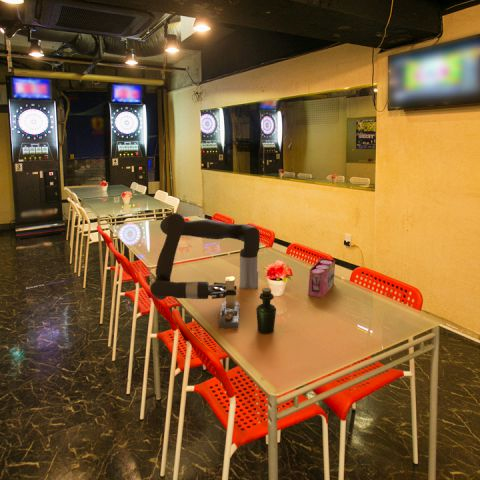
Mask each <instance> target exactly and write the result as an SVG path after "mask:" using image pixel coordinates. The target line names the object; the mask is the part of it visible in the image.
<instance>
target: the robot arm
mask: <svg viewBox="0 0 480 480" xmlns="http://www.w3.org/2000/svg"><path fill="white" fill-rule="evenodd" d="M159 227H160V228H159V229H160V230H161V232H162V233H163V234H164V235H166V237H165V240H164V243H163V245H162V248H161V250H160V253H159V255H158V258H157V263H156V267H155V277H156V278H155V281H153V282H152V283H151V285H150V287H149V291H150V294H152V295H153V297H154V298H155V299H157V300H160V301H161V300H165V299H166V298H167V297H173V298H175V299H189V300H208V299H209V297H211V299H212V300H214V299H215V300H217V299H226V296H227V295H235V296H237V290H238V289H237V285H235V284H234V286H235V290H228V291H227V290H226V282H213V284H210V285H209V282H208V281H184V282H183V281H180V282H177V281H175V282H174V281H171V277H172V273H173V272H172V271H173V268H174V267H173V266H174V263H175V262H174V261H175V257H176V253H177V249H178V246H179V242H180V241H181V237H183V236H184V237H194V238H202V239H208V240H209V239H210V240H223V239H232V240H233V239H234V240H238V241H241V242H242V243H243V248H241V249H240V251H239V288H241V289H242V290H254V289H258V288H259V270H258V253H259V251H260V242H261V240H260V239H261V234H260V230H259V228H258V227H255V226H253V225H251V224H243V223H242V224H240V223H239V224H235V223H228V222H224V221H219V220H214V219H213V220H212V219H200V220H199V219H198V220H188V221H187V220H186V219H185V218H184V216H183V215H182V214H181V213H178V212H173V213H169V215H167V216H166V217H164V218H163V219H162V220H161V222H160V226H159Z"/></svg>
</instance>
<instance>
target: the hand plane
mask: <svg viewBox="0 0 480 480" xmlns="http://www.w3.org/2000/svg"><path fill="white" fill-rule="evenodd" d="M239 320H240V301H235V306H234V309H226V301H222V302H221V308H220V314H219V321H218V329H219V328H238V329H239V324H240V323H239V322H240V321H239Z"/></svg>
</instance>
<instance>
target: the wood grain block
mask: <svg viewBox="0 0 480 480" xmlns="http://www.w3.org/2000/svg"><path fill="white" fill-rule="evenodd" d="M225 283H226V290H227V291H228V290H235V286H236V285H235V276H225ZM234 285H235V286H234ZM225 302H226V309H234V306H235V302H236V295H227V296H226V298H225Z"/></svg>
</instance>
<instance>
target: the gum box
mask: <svg viewBox="0 0 480 480" xmlns="http://www.w3.org/2000/svg"><path fill="white" fill-rule="evenodd" d="M335 267H336V259H329V258H327V259H326V258H320V259H319V260H318V261H317V262H316V263H315V264H314V265H313V266H312V267H311V268H310V269H309V275H308V276H309V277H308V279H309V280H308V290H307V291H308V293H307V295H308V296H312V297H318V298H324V297H325V296H326V295H327V293H328V292H329V291H330V289H331V288H332V287H333V285H334V284H335V270H336V268H335Z"/></svg>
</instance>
